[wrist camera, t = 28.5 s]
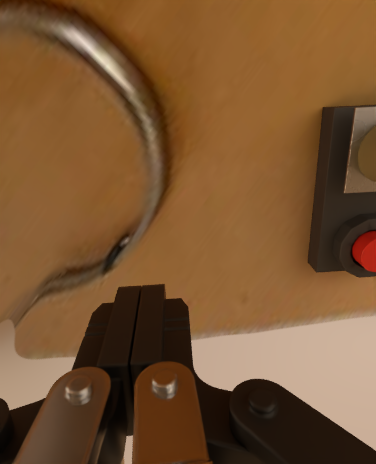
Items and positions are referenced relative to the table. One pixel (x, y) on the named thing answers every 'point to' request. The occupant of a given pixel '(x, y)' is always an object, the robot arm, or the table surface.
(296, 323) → the table surface
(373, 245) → the button
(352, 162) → the plate
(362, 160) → the olive pawn piece
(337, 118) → the machine
